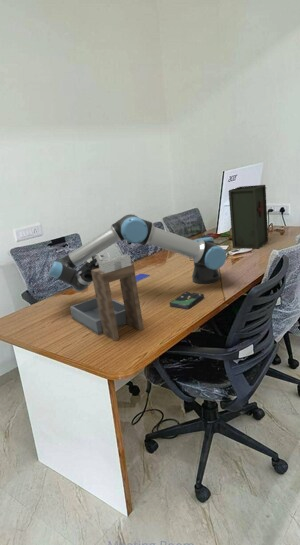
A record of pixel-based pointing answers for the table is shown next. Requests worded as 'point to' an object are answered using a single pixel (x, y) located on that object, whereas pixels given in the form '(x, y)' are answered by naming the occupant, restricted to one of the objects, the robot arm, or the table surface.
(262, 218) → the first aid box
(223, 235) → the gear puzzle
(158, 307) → the table surface
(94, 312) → the tray
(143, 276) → the hard drive
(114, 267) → the t handle
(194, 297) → the disk drive
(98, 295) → the bridge
